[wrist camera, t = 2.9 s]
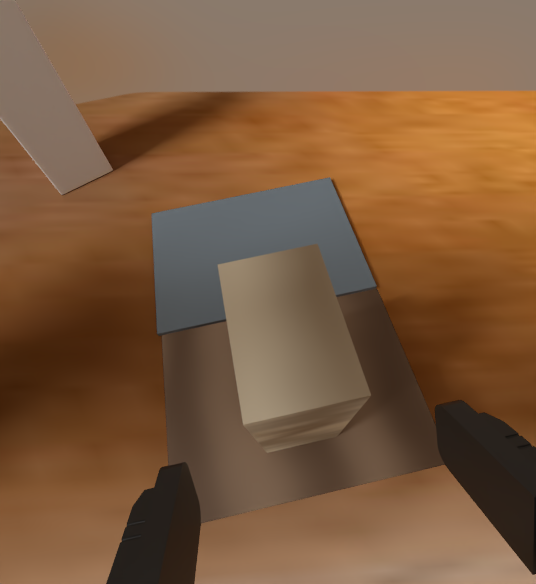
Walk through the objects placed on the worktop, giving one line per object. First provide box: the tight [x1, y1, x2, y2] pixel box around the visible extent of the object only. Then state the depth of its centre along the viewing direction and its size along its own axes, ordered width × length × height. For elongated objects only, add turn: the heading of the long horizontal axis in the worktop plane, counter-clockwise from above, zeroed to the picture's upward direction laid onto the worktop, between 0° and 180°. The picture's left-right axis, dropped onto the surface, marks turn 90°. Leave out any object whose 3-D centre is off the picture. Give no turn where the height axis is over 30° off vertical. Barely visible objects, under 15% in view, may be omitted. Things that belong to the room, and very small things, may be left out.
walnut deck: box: [162, 289, 445, 523], centre depth 22 cm, size 15×11×4 cm
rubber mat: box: [152, 178, 377, 336], centre depth 31 cm, size 18×13×1 cm
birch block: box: [218, 244, 371, 453], centre depth 16 cm, size 4×6×10 cm, turn 12°
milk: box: [0, 0, 113, 195], centre depth 29 cm, size 6×6×22 cm
